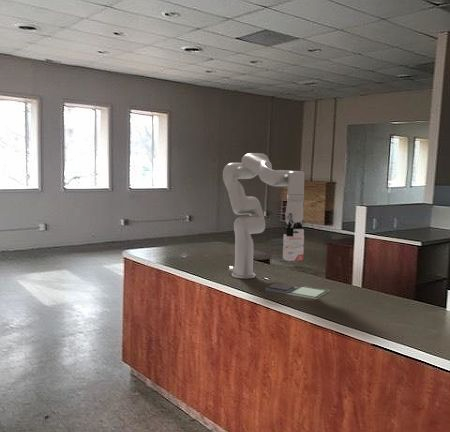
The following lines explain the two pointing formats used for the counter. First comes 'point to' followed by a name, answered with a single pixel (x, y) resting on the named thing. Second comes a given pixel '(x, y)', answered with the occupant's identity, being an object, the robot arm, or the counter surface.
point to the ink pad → (280, 288)
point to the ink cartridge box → (293, 246)
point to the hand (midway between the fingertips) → (294, 235)
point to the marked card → (308, 292)
